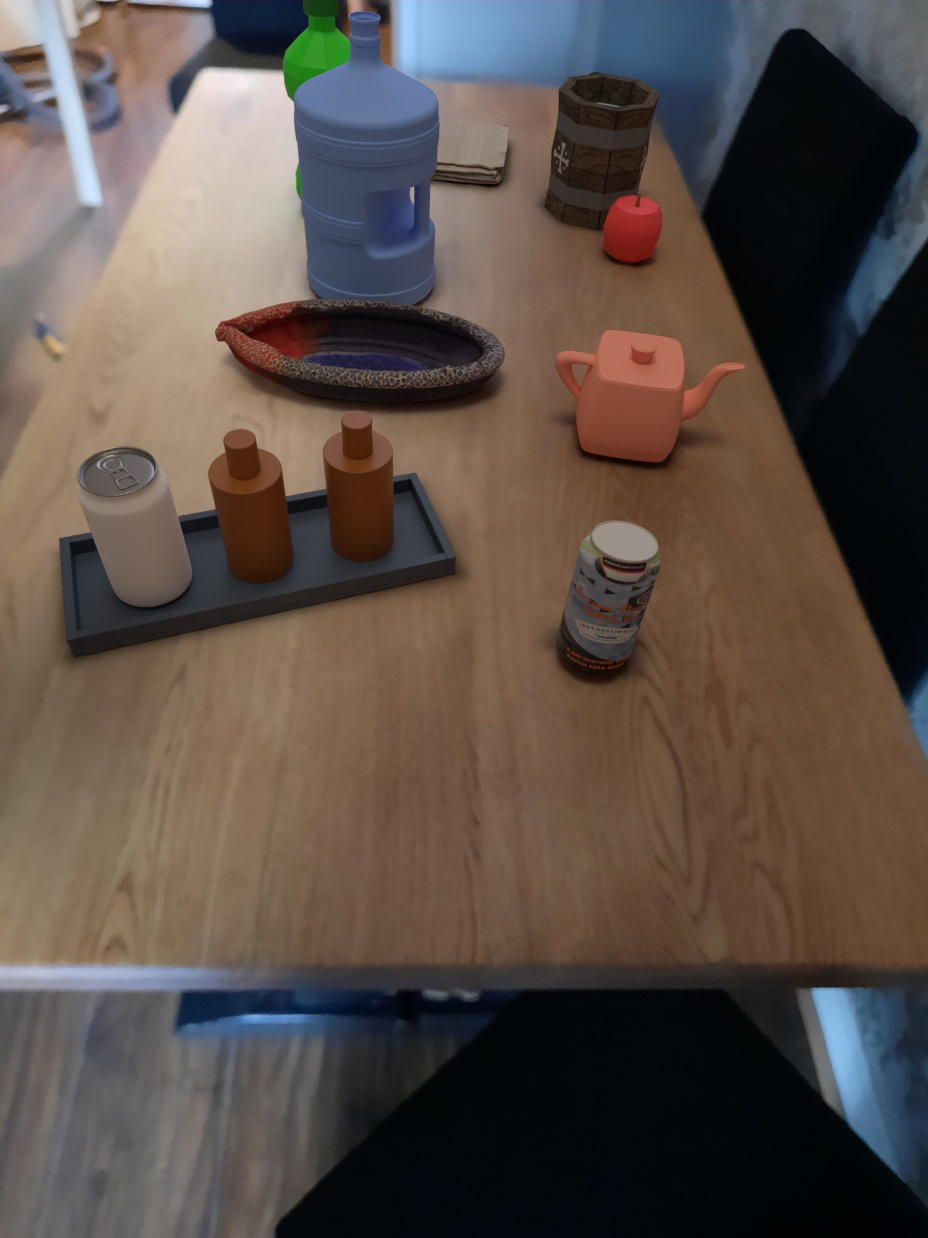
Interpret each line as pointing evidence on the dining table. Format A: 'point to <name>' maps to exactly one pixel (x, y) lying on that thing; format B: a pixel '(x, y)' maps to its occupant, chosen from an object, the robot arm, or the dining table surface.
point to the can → (134, 525)
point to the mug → (598, 146)
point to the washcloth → (471, 153)
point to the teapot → (635, 394)
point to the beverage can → (608, 596)
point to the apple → (632, 228)
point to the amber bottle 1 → (251, 509)
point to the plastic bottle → (315, 50)
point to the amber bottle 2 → (359, 489)
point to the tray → (226, 598)
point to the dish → (364, 349)
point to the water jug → (367, 175)
